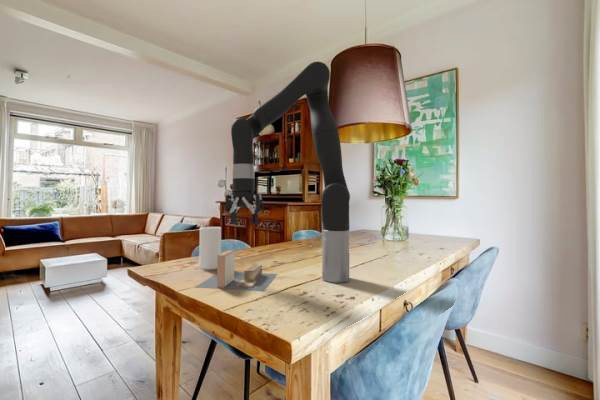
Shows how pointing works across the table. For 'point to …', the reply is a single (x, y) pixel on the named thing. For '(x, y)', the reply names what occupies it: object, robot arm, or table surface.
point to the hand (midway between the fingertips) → (244, 224)
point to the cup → (209, 247)
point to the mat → (239, 276)
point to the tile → (225, 268)
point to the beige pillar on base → (251, 276)
